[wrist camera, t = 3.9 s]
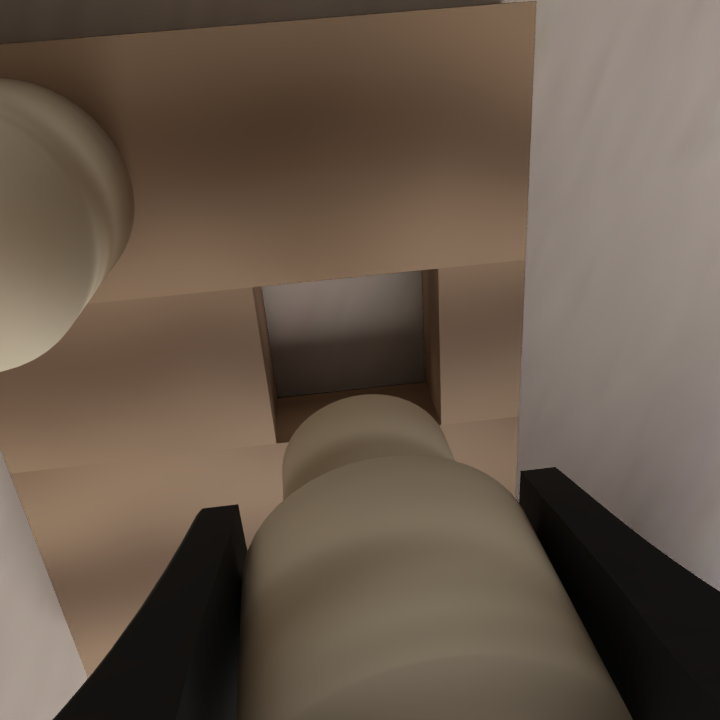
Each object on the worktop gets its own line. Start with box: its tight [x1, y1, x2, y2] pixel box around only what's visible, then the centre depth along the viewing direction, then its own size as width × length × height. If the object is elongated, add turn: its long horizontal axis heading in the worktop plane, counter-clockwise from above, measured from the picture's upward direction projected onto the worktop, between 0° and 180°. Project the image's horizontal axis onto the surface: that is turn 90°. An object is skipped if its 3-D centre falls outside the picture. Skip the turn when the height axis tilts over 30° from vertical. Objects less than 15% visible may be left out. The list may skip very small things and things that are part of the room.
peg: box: [236, 394, 633, 720], centre depth 11 cm, size 5×5×6 cm
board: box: [0, 1, 536, 678], centre depth 18 cm, size 20×14×6 cm
